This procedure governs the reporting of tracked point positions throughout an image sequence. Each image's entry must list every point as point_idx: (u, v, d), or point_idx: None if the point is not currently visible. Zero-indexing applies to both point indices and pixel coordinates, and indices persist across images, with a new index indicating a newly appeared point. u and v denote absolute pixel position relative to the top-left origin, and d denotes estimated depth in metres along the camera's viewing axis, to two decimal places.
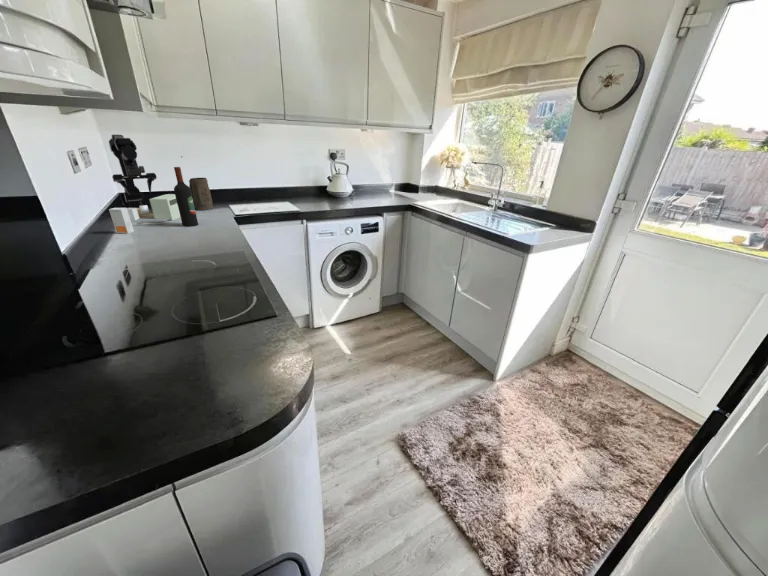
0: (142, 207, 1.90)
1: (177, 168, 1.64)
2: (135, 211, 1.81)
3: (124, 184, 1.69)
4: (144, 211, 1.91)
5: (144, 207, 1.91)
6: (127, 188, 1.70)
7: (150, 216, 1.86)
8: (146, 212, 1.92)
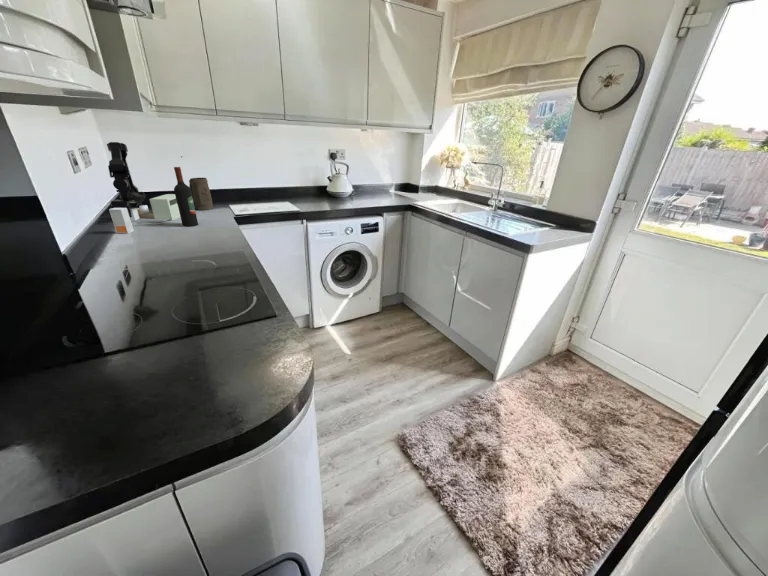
0: (142, 207, 1.90)
1: (177, 168, 1.64)
2: (135, 211, 1.81)
3: (129, 208, 1.77)
4: (144, 211, 1.91)
5: (144, 207, 1.91)
6: (130, 211, 1.78)
7: (150, 216, 1.86)
8: (146, 212, 1.92)
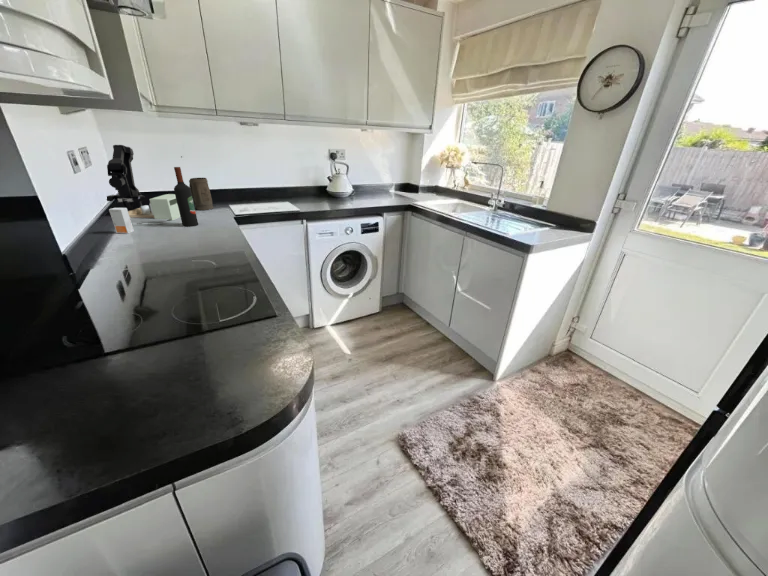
0: (143, 207, 1.90)
1: (177, 168, 1.64)
2: None
3: None
4: (145, 211, 1.91)
5: (145, 207, 1.91)
6: None
7: (151, 216, 1.86)
8: (147, 212, 1.92)
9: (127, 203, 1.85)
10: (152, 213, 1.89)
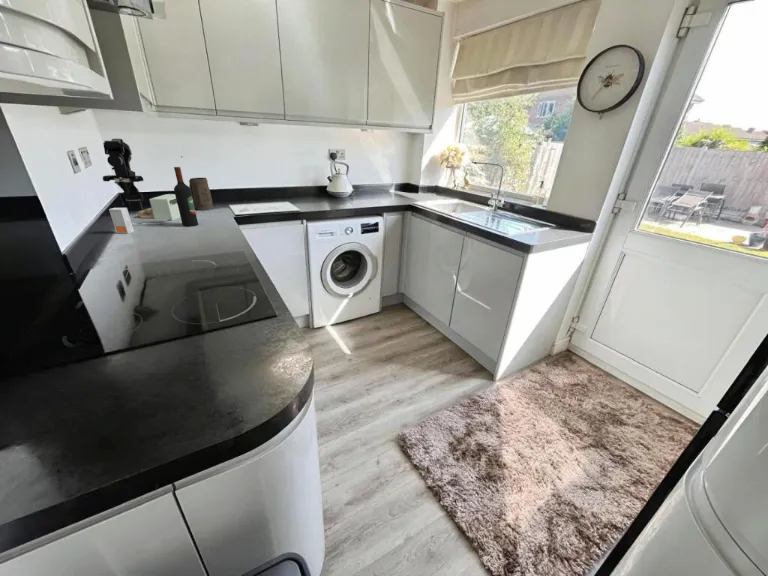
0: None
1: (177, 168, 1.64)
2: None
3: None
4: None
5: None
6: None
7: None
8: None
9: (124, 183, 1.81)
10: None
